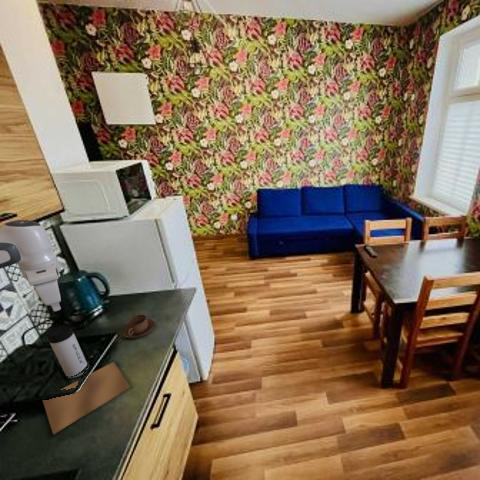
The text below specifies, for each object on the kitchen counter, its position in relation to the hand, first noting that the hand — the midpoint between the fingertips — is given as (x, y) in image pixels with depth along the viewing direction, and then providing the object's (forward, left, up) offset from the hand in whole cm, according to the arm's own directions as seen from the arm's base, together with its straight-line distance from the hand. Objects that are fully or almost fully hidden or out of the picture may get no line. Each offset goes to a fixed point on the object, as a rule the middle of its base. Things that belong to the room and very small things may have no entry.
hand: (56, 303), depth 92 cm
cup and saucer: (+21, +2, -28) cm, 35 cm away
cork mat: (-2, -18, -28) cm, 33 cm away
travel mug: (-2, -4, -28) cm, 28 cm away
